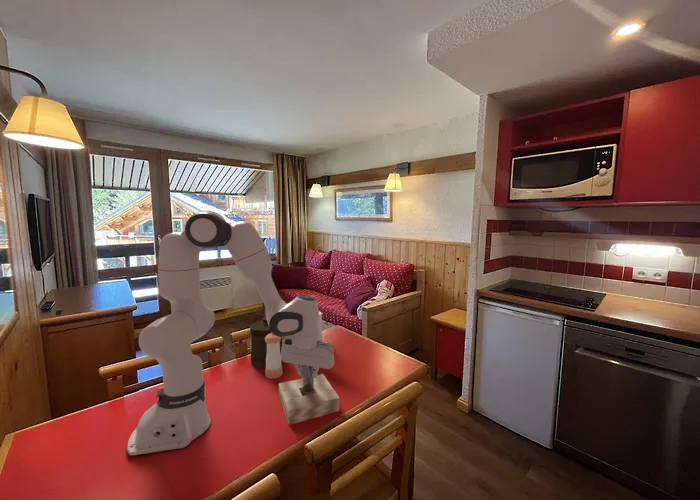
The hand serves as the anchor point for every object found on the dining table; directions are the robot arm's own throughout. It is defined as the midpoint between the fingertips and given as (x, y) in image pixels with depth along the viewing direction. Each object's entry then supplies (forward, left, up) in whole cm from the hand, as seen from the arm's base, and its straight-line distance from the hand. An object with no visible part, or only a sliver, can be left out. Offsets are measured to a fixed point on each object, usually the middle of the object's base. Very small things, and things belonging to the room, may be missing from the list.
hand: (307, 375), depth 109 cm
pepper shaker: (-8, +26, -11) cm, 29 cm away
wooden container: (-9, +40, -11) cm, 43 cm away
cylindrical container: (+11, +27, -11) cm, 31 cm away
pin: (0, 0, -5) cm, 5 cm away
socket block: (0, 0, -11) cm, 11 cm away
